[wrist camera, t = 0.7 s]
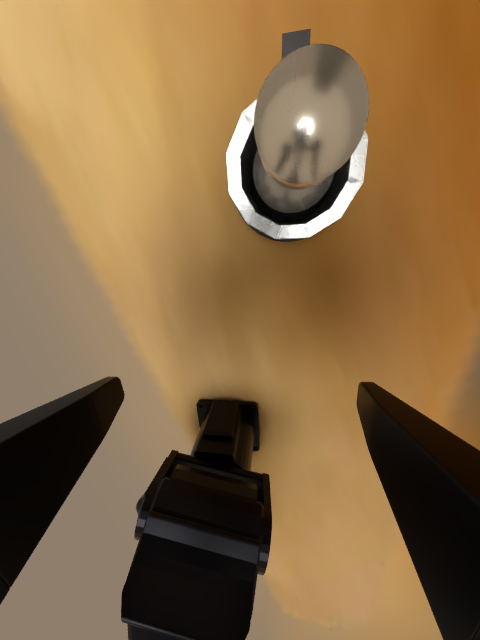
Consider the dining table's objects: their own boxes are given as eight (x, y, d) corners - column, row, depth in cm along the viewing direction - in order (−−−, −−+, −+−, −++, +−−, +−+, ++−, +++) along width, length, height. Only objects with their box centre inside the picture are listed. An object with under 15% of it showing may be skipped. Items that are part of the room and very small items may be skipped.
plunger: (329, 210, 14) (384, 205, 7) (255, 215, 14) (232, 215, 7) (337, 118, 12) (419, -20, 5) (252, 127, 13) (220, 18, 6)
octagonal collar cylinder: (342, 238, 18) (367, 246, 13) (236, 242, 19) (222, 252, 15) (359, 76, 15) (399, 6, 10) (227, 95, 16) (205, 41, 11)
